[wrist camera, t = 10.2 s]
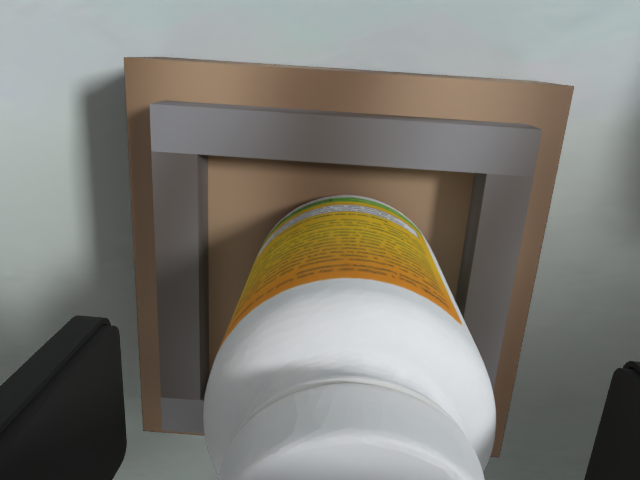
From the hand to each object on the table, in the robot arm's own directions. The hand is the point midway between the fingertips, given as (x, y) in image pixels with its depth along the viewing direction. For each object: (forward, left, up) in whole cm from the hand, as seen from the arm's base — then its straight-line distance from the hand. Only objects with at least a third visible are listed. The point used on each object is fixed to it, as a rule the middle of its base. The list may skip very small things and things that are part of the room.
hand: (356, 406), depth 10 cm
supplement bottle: (0, 0, -7) cm, 7 cm away
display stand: (+1, 0, -9) cm, 9 cm away
